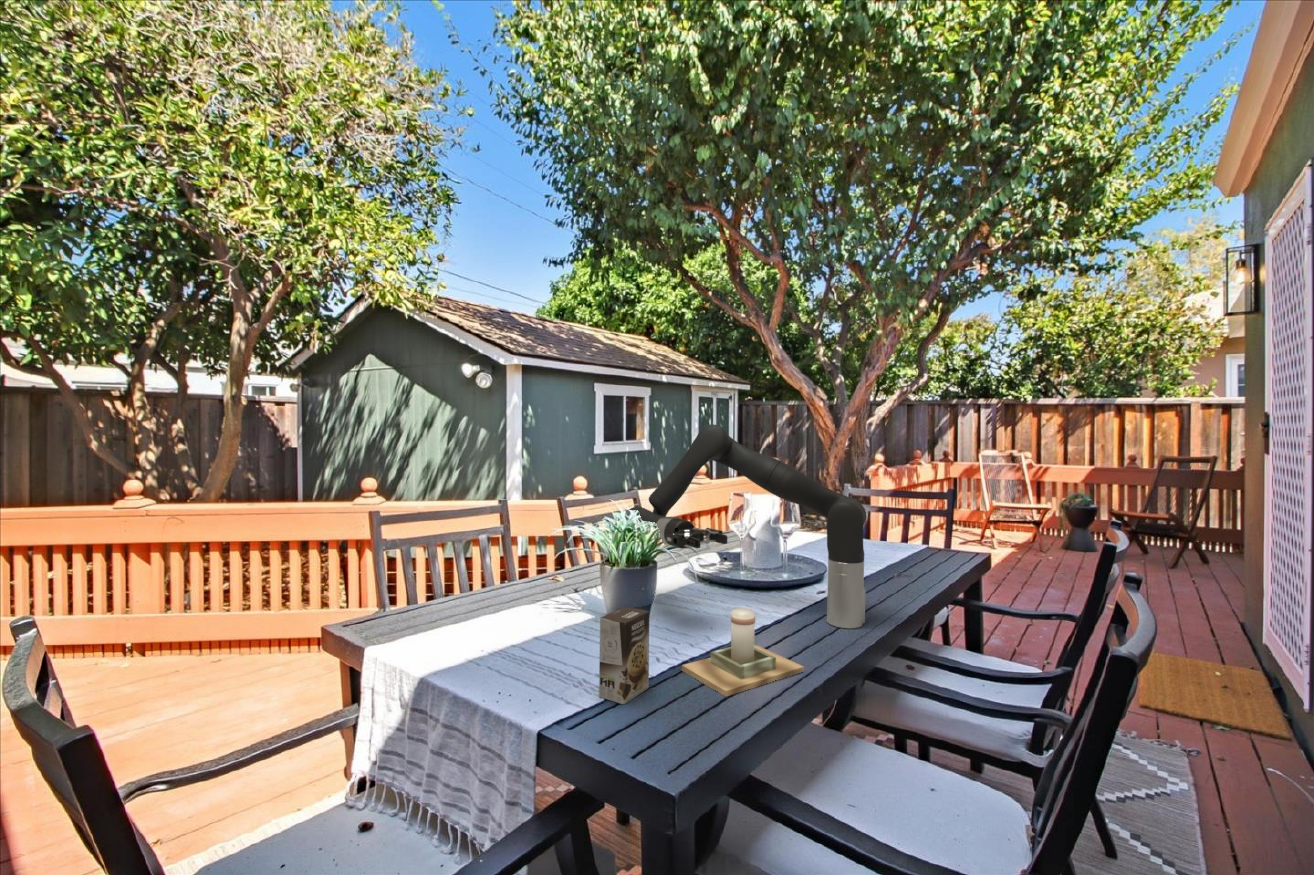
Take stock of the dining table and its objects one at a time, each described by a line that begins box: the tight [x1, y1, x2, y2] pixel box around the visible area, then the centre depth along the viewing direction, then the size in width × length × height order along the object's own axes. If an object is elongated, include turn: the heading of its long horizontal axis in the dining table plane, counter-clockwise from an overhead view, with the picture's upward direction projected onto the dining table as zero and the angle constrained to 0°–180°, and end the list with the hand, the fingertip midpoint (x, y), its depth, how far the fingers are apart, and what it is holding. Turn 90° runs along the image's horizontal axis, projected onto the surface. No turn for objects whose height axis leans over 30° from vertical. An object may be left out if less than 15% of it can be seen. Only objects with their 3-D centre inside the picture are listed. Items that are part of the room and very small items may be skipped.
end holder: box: [681, 644, 805, 697], centre depth 139 cm, size 22×15×4 cm
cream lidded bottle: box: [730, 607, 756, 665], centre depth 139 cm, size 5×5×12 cm
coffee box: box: [598, 606, 650, 705], centre depth 128 cm, size 9×6×16 cm
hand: (713, 541), depth 157 cm, fingers open, 8 cm apart
